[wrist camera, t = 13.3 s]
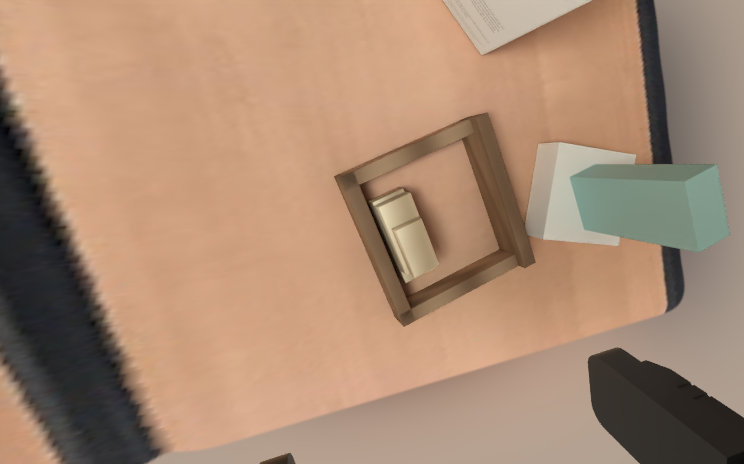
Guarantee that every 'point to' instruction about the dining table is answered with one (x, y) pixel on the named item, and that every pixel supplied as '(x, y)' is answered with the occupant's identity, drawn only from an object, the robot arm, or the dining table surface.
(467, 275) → the square wooden frame
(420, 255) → the offcuts
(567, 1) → the supplement box
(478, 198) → the dining table surface
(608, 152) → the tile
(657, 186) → the tall block
